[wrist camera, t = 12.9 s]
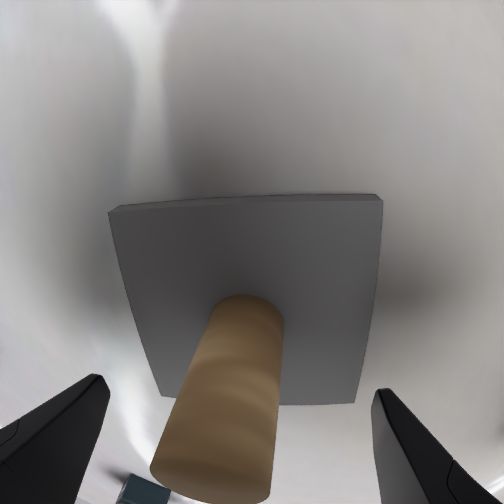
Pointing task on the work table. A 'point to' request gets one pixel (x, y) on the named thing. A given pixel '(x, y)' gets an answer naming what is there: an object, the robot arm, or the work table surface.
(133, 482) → the watch
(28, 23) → the work table surface
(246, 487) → the dowel
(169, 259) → the mat
